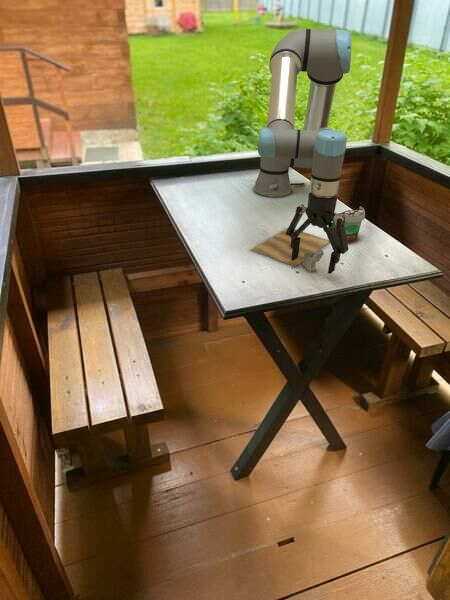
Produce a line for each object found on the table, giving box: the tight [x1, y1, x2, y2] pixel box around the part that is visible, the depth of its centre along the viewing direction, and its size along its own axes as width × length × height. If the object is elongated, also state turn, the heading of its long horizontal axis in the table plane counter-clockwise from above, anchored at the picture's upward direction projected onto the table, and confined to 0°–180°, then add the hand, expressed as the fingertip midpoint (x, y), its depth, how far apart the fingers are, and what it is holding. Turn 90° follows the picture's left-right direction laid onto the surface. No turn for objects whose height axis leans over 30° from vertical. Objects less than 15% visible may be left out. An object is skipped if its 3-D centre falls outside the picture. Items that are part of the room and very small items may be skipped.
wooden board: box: [251, 228, 330, 268], centre depth 143 cm, size 22×16×1 cm
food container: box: [332, 206, 366, 244], centre depth 145 cm, size 12×6×10 cm, turn 118°
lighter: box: [302, 248, 325, 273], centre depth 129 cm, size 7×2×8 cm, turn 23°
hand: (312, 265), depth 129 cm, fingers open, 11 cm apart
